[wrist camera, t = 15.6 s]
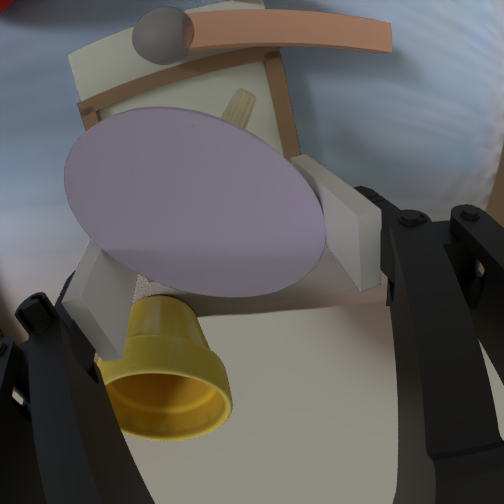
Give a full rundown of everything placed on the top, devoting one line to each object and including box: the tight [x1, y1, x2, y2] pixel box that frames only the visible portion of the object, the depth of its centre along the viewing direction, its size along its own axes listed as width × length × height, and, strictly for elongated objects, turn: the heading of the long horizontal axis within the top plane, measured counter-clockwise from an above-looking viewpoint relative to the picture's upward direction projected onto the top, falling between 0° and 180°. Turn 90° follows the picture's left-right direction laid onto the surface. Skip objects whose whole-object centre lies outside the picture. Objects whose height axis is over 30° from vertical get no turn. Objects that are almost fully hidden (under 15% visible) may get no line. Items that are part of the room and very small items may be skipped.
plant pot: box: [97, 295, 233, 441], centre depth 24 cm, size 10×10×10 cm
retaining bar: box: [132, 7, 393, 65], centre depth 14 cm, size 15×3×2 cm, turn 94°
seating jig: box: [68, 0, 301, 282], centre depth 18 cm, size 13×19×6 cm
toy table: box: [64, 88, 326, 298], centre depth 13 cm, size 10×9×6 cm
